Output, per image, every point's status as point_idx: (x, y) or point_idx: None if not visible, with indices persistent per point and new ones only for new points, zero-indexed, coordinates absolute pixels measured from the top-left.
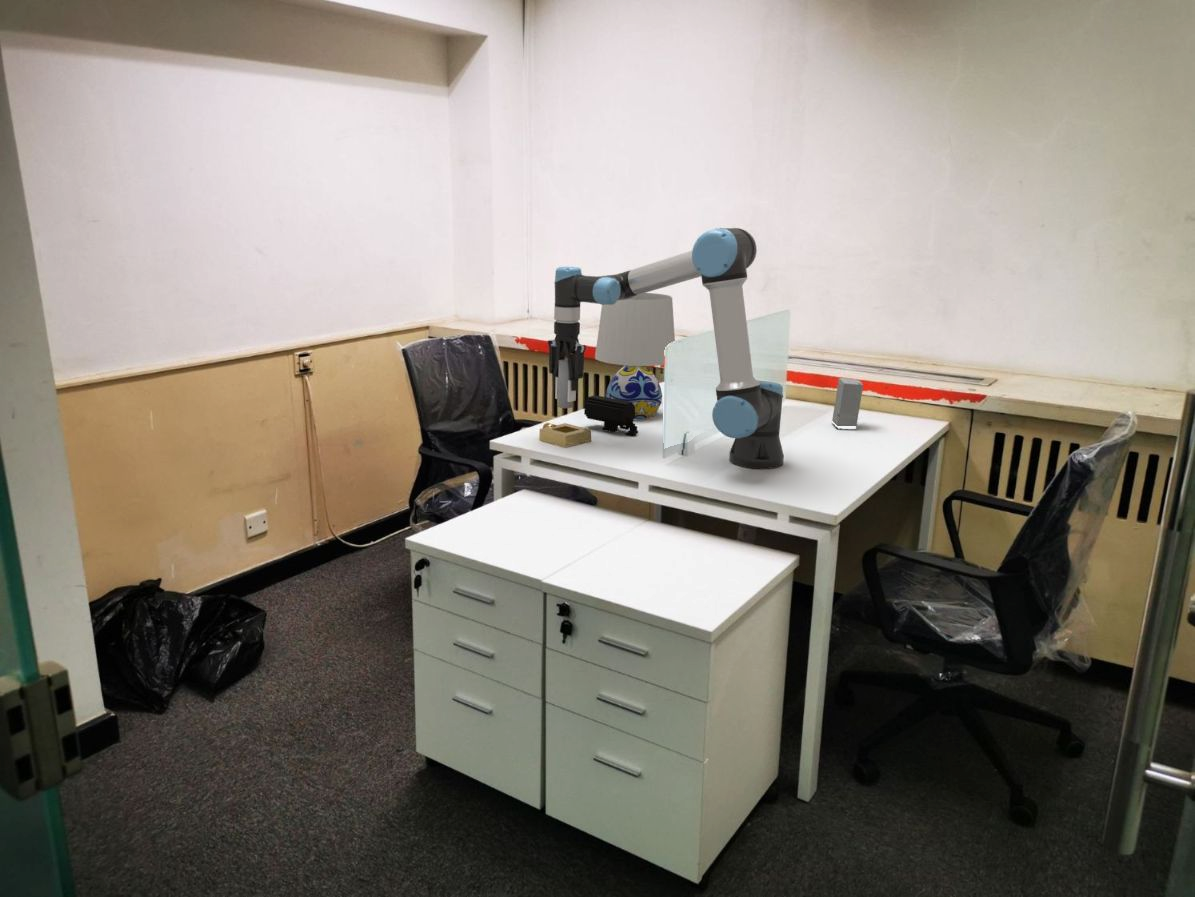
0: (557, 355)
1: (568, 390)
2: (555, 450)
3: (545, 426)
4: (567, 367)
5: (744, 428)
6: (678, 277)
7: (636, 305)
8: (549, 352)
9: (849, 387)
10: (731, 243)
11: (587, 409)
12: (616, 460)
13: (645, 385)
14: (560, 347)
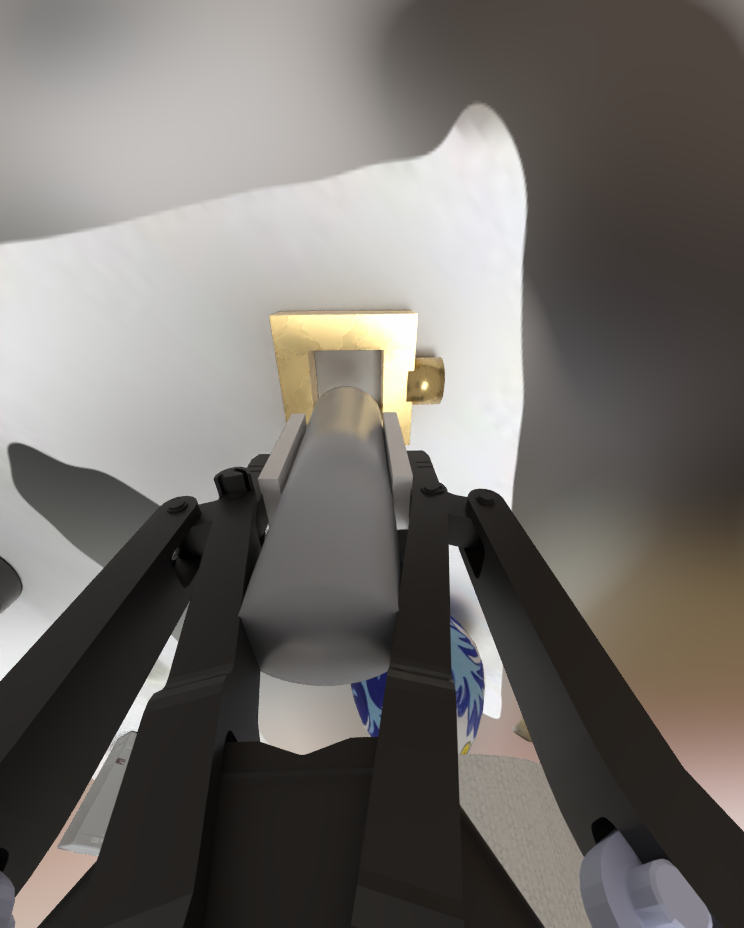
0: (436, 663)
1: (287, 441)
2: (270, 250)
3: (432, 367)
4: (260, 553)
5: None
6: None
7: None
8: (619, 681)
9: (71, 834)
10: None
11: (404, 541)
12: (56, 329)
13: (365, 707)
14: (359, 888)
